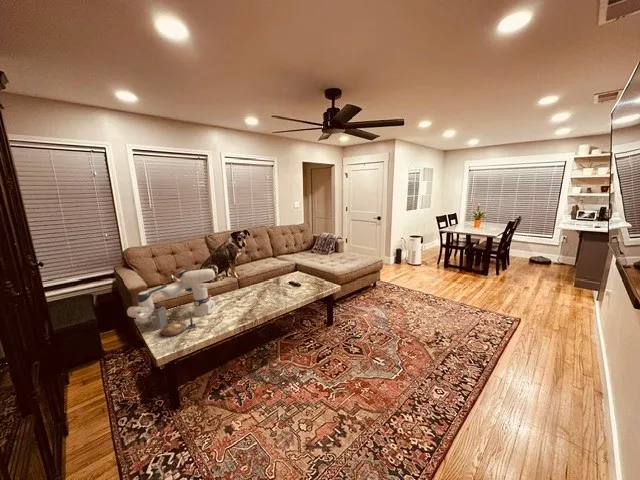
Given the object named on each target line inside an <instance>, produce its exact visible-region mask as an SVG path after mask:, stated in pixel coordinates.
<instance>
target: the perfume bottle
mask: <svg viewBox="0 0 640 480" xmlns="http://www.w3.org/2000/svg"><path fill="white" fill-rule="evenodd" d="M164 307H165V306H162V304H160V303H159V304H156V305H154V309H153V312H152V316H157V318H153V319H152V324H153V325H152V326H153V329H157V330H162V329H163V328H164V327H165V326H167V325H169V324H168V323H169V322H168V317H167V315H168V314H167V309H166V308H165V309H164Z"/></svg>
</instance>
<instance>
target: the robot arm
mask: <svg viewBox="0 0 640 480" xmlns="http://www.w3.org/2000/svg"><path fill="white" fill-rule="evenodd" d="M215 276H216V273H215V270H214V269H212V268H202V269H195V270H189V269H182V270H181V271H179V273H178V274H177V277H178V279H179V280H177V281H175V282H172V283H170V284H168V285H166V284H160V285H157V286H155V287H152V288H150V289H147V290H143V291H140V292H138V293H137V295H136V297H135V299H136V301H137V304H138V305H137V306H136V305H135V306H134V305H133V306H128V308H127V310H126V313H127V314H126V315H127V316H128V317H131V318H135V320H136V322H137V323H146V322H149V320H153V318H157V316H152V312H153V309H154V308H155V304H154V302H153V298H152V296H153V295H154V294H157V293H161V295H162V296H164V297H165V298H167V299H168V298H169V299H170V298H173V297H175V296H176V295H178V294H179V293H181V292H182V291H185V292H187V293H193V304H192V305H193V306H192V307H193V308H194V311H193V312H192V313H193V316H196V317H203V316H206V315H210V314H211V315H212V314H213V313H214V312H215V311H216V310H217V309H218V307H219V305H218V304H216V302H215V300H213V299H211V297H212V295H211V294H208V288H207V286H205V285H202V284H200V283H205V282H209V281H212V280H214V278H215ZM163 307H164V309H166V307H165V306H163Z"/></svg>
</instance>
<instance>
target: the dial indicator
mask: <svg viewBox="0 0 640 480" xmlns="http://www.w3.org/2000/svg"><path fill="white" fill-rule="evenodd" d="M193 311H194V308H193V306H190V305H189V306H188V307H187V308H186V313H188V314H189V323H190V324H188V325H187V327H188V330H192V329H196V323H193V314H192V313H193Z"/></svg>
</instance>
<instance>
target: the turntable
mask: <svg viewBox="0 0 640 480" xmlns="http://www.w3.org/2000/svg"><path fill="white" fill-rule="evenodd" d="M186 329H187V324H186V323H185V322H183V321H178V322H176V321H175V322H172V323H169V324H168V325H167V326H165V327H164V328H162V329H161V334H162V335H163V336H166V337H173V336H177V335H180V334H182V333H184V332H185V330H186Z"/></svg>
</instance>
